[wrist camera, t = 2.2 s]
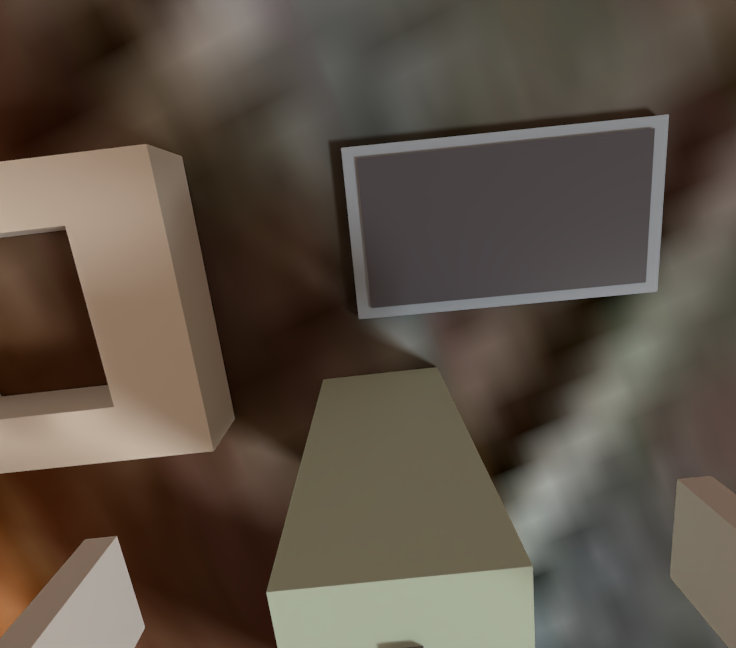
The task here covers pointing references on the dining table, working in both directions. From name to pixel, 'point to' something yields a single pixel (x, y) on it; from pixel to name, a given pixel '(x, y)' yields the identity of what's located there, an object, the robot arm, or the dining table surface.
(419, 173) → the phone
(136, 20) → the dining table surface
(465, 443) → the block
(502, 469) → the dining table surface
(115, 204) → the power strip
